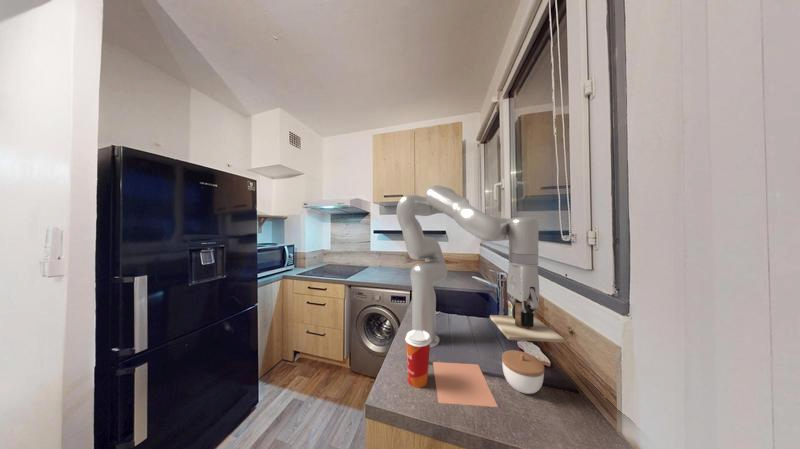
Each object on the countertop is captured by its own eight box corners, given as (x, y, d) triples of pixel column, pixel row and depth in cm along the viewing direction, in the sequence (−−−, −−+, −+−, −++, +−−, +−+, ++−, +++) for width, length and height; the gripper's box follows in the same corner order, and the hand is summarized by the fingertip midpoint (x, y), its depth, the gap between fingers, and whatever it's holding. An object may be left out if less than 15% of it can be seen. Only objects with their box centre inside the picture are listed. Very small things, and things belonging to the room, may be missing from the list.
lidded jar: (551, 405, 56) (552, 369, 56) (507, 398, 58) (507, 363, 59) (534, 377, 67) (535, 347, 67) (497, 372, 69) (498, 342, 69)
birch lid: (489, 317, 70) (489, 296, 70) (534, 319, 69) (534, 298, 69) (508, 339, 56) (508, 313, 56) (564, 342, 55) (564, 315, 55)
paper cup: (406, 371, 68) (407, 327, 69) (431, 375, 67) (432, 330, 67) (402, 390, 61) (403, 340, 61) (429, 394, 59) (430, 343, 59)
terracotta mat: (432, 363, 73) (432, 361, 73) (478, 366, 72) (478, 364, 72) (438, 405, 56) (438, 402, 56) (497, 409, 55) (497, 406, 55)
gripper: (498, 255, 72) (498, 311, 71) (524, 264, 55) (524, 336, 55) (522, 256, 71) (521, 312, 71) (555, 264, 54) (555, 337, 54)
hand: (522, 321), depth 63 cm, fingers closed on birch lid, 4 cm apart
